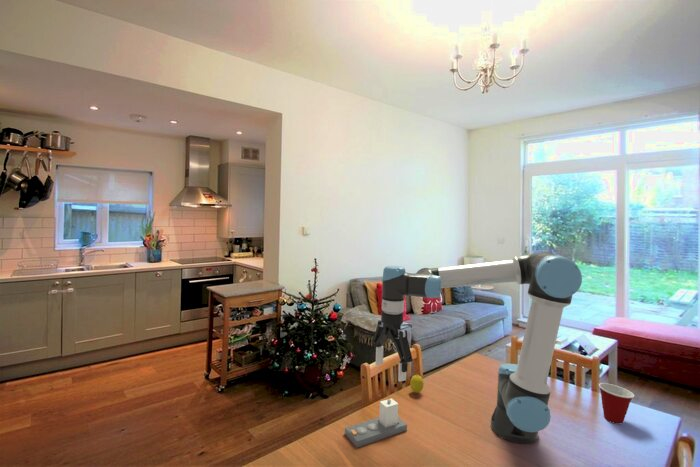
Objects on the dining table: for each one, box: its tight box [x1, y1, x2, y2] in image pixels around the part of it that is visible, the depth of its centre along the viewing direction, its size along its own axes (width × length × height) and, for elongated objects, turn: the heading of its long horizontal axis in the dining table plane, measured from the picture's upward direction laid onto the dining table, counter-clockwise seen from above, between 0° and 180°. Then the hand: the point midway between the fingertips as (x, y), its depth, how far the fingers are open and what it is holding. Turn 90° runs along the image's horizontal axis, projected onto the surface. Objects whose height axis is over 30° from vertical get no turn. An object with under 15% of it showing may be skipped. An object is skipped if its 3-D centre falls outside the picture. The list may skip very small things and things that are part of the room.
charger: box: [378, 398, 399, 429], centre depth 121 cm, size 4×5×10 cm
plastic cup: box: [598, 382, 635, 424], centre depth 132 cm, size 11×11×12 cm
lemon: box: [409, 374, 424, 394], centre depth 148 cm, size 6×6×8 cm
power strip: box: [344, 416, 408, 448], centre depth 119 cm, size 8×20×4 cm, turn 119°
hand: (390, 372), depth 121 cm, fingers open, 13 cm apart
